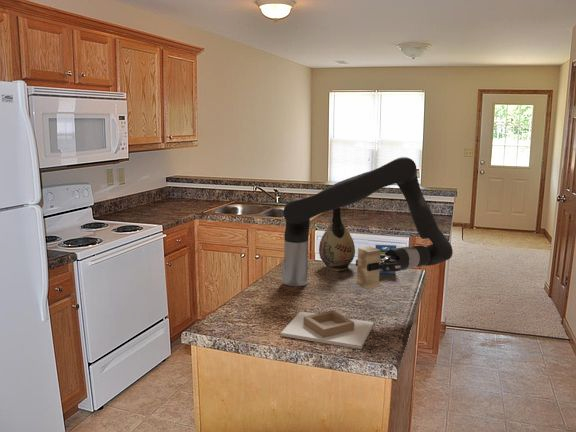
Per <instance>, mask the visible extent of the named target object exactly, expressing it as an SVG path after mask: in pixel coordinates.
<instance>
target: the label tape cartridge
mask: <svg viewBox="0 0 576 432" xmlns="http://www.w3.org/2000/svg"><path fill="white" fill-rule="evenodd" d="M374 248H376V249H379V250H381V252H380V254H385V253H386V252H387V251H388V250H389V249H394V248H397V245H395V244H391V245H390V244H388V245H387V244H375V247H374ZM379 274H391V275H392V274H393V275H395V274H396V272H393V271H387V272H384V271H383V270H380V272H379Z"/></svg>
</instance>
